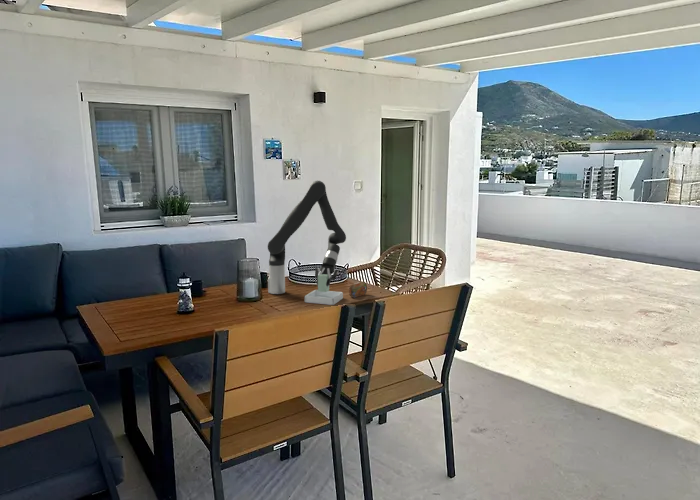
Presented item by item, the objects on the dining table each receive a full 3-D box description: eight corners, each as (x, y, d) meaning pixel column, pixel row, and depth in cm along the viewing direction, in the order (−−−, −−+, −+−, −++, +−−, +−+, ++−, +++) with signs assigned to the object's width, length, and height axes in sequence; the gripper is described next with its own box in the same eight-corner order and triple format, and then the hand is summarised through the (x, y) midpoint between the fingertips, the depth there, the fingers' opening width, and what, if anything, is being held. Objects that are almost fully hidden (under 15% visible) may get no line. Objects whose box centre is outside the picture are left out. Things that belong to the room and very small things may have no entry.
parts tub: (304, 303, 268) (304, 296, 267) (315, 296, 282) (315, 289, 281) (333, 305, 262) (333, 298, 262) (342, 299, 276) (342, 292, 276)
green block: (317, 291, 270) (317, 275, 268) (321, 289, 274) (321, 273, 273) (326, 292, 268) (326, 276, 267) (329, 290, 273) (329, 274, 271)
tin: (352, 299, 275) (352, 285, 274) (348, 298, 277) (348, 284, 276) (367, 294, 287) (367, 280, 286) (363, 293, 289) (363, 280, 288)
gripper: (317, 255, 278) (308, 280, 268) (340, 257, 273) (332, 282, 264) (320, 263, 283) (312, 287, 274) (343, 265, 279) (336, 289, 270)
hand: (322, 285), depth 269 cm, fingers closed on green block, 5 cm apart
